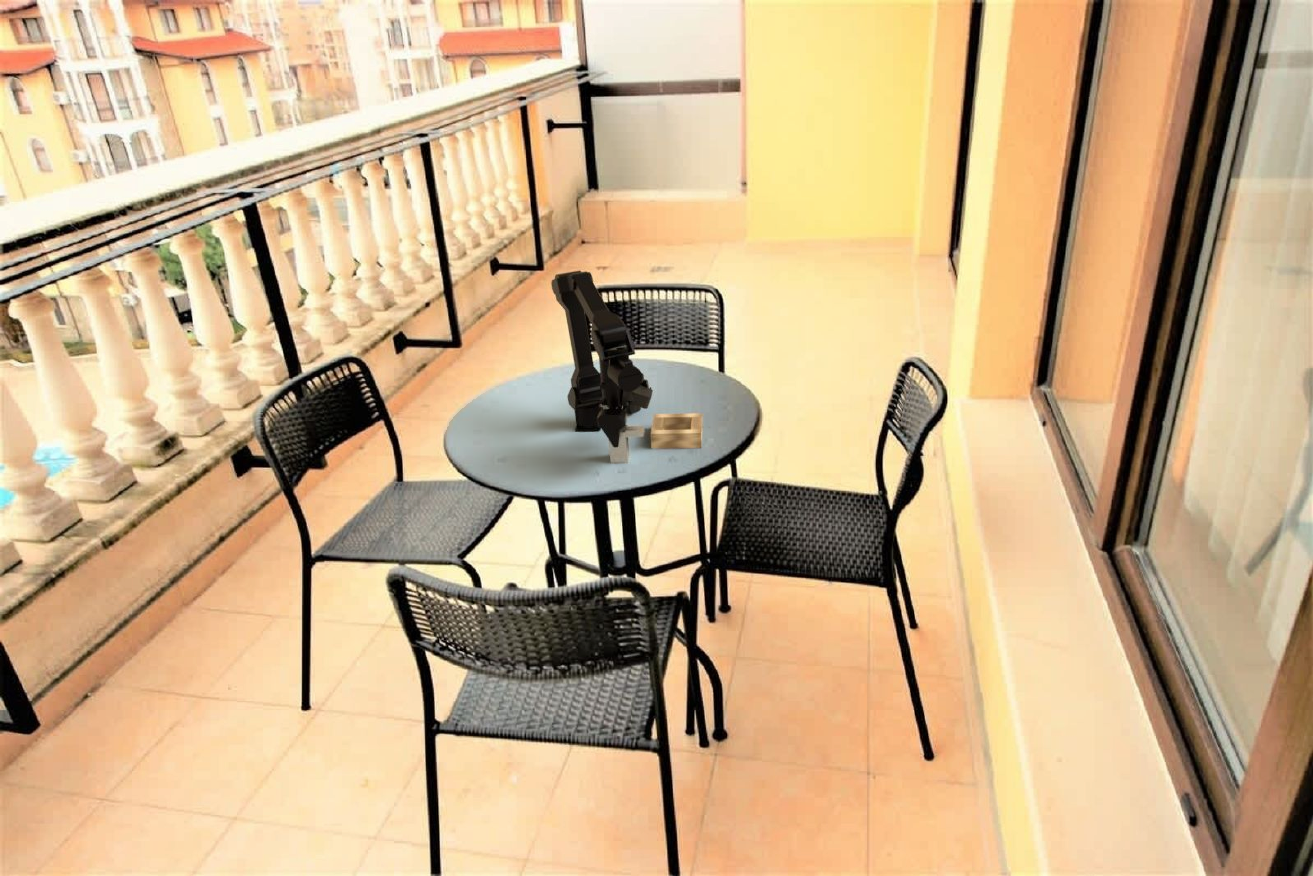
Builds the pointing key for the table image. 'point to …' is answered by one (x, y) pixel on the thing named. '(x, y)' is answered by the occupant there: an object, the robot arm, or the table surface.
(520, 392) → the table surface
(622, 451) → the bracket
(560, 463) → the table surface
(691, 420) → the well block
